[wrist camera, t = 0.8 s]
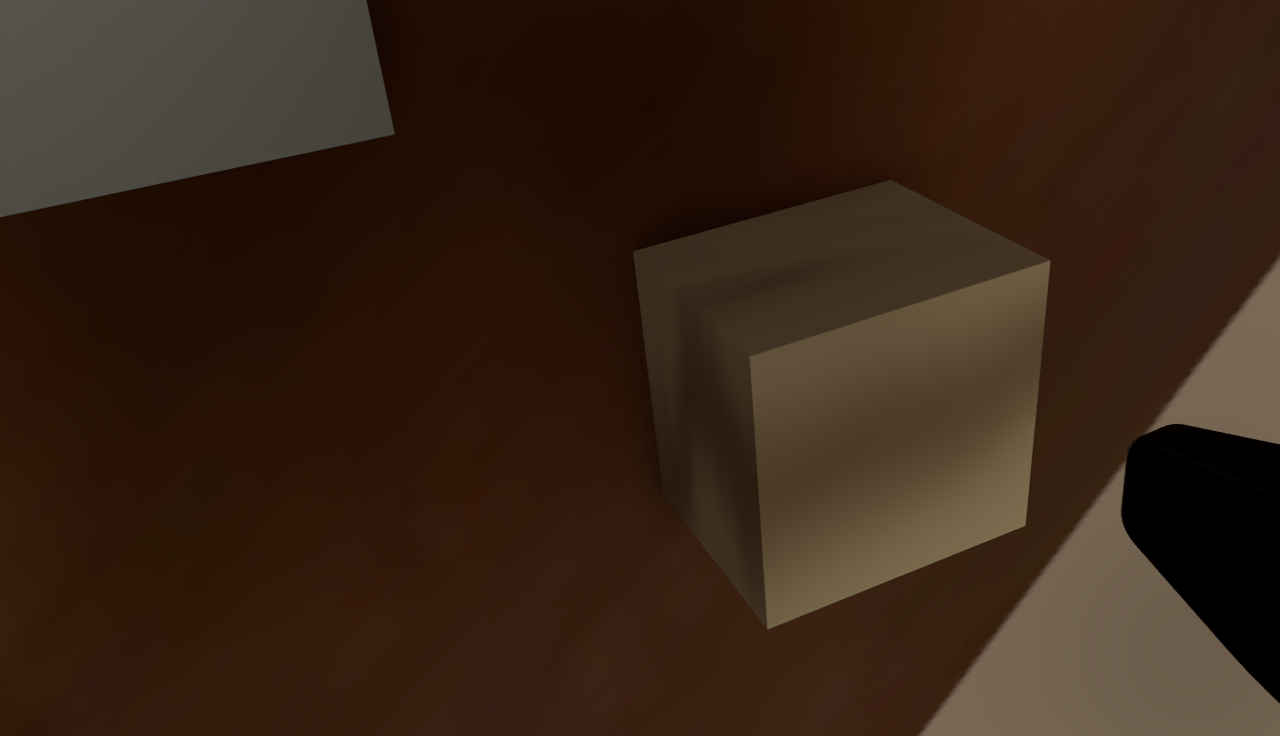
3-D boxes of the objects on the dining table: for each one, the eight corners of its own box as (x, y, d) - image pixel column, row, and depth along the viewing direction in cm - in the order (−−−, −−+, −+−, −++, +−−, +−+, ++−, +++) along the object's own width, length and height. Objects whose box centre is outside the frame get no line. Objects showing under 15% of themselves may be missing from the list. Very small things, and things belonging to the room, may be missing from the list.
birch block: (885, 411, 26) (1025, 525, 22) (660, 490, 24) (767, 629, 20) (887, 178, 23) (1050, 260, 19) (630, 249, 21) (750, 356, 17)
